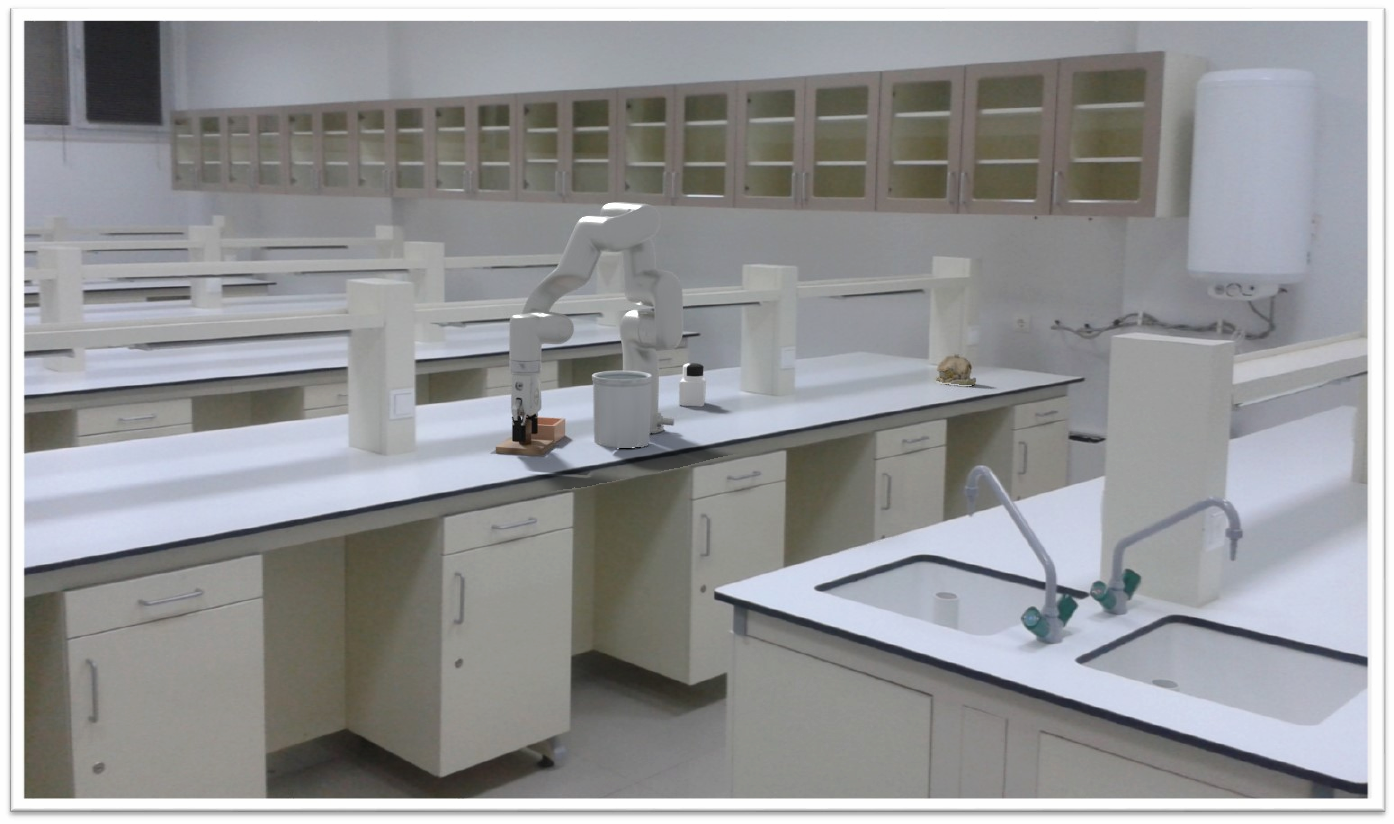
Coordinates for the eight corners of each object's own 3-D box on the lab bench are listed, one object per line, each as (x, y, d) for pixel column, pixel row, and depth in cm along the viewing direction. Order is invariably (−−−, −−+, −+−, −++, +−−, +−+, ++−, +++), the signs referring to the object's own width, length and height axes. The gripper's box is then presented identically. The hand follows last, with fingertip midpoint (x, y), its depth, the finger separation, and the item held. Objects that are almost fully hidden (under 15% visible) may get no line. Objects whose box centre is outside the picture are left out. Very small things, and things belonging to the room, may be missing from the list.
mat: (558, 447, 308) (558, 445, 308) (543, 459, 296) (543, 456, 295) (507, 444, 310) (507, 441, 310) (490, 455, 298) (490, 453, 297)
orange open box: (565, 437, 320) (565, 418, 319) (554, 446, 310) (554, 426, 309) (527, 435, 321) (527, 416, 320) (515, 443, 311) (515, 423, 310)
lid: (553, 445, 307) (553, 417, 306) (540, 455, 297) (540, 426, 295) (510, 443, 309) (510, 414, 308) (495, 452, 298) (495, 423, 297)
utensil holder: (578, 444, 313) (579, 374, 309) (615, 435, 325) (616, 367, 322) (626, 453, 305) (627, 381, 301) (662, 443, 317) (663, 374, 314)
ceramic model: (928, 383, 422) (930, 353, 420) (941, 379, 431) (943, 350, 429) (968, 388, 414) (970, 358, 412) (980, 384, 423) (983, 354, 422)
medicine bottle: (705, 402, 374) (706, 362, 372) (703, 407, 367) (704, 366, 365) (681, 401, 375) (682, 361, 372) (678, 405, 368) (679, 365, 365)
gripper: (529, 373, 290) (529, 446, 293) (550, 362, 307) (550, 431, 310) (498, 371, 291) (498, 444, 294) (521, 360, 308) (520, 429, 311)
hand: (525, 437), depth 302 cm, fingers open, 9 cm apart
